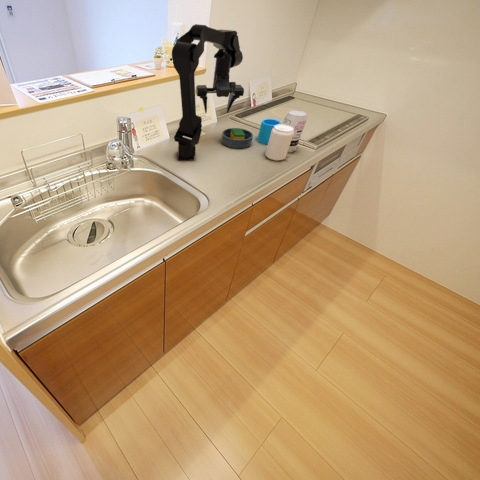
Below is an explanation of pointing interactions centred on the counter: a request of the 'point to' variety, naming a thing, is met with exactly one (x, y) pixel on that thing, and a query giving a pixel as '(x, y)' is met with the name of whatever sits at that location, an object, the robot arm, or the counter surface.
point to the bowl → (234, 142)
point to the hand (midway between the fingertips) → (216, 112)
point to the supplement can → (295, 126)
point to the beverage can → (279, 142)
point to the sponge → (237, 134)
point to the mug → (266, 130)
